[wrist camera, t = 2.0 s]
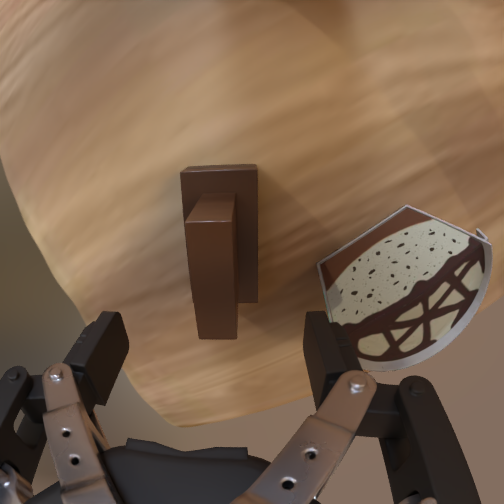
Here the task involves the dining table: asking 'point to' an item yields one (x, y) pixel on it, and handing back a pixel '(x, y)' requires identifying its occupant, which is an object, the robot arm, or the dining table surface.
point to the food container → (406, 287)
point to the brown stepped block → (221, 243)
